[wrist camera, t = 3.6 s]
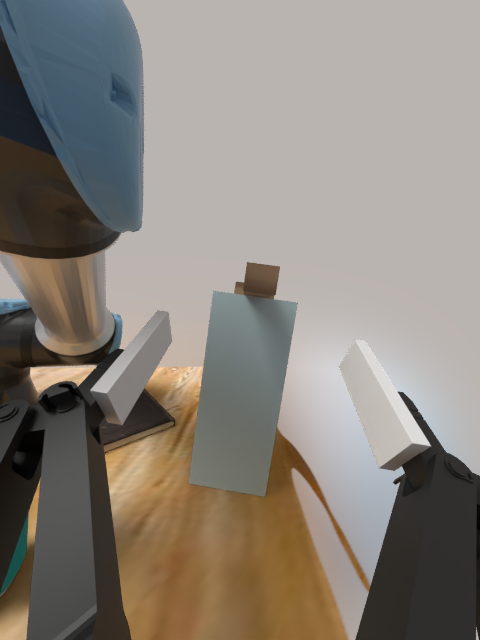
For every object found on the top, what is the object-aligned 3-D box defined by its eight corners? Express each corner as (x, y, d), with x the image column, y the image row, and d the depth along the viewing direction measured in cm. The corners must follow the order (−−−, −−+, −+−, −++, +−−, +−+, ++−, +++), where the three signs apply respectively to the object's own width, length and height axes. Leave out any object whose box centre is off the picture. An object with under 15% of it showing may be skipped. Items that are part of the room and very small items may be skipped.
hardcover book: (83, 464, 32) (84, 451, 32) (66, 401, 48) (66, 392, 48) (174, 428, 44) (175, 418, 44) (136, 387, 59) (137, 379, 59)
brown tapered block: (299, 298, 17) (304, 270, 17) (219, 287, 17) (222, 258, 17) (268, 301, 44) (269, 290, 44) (236, 296, 44) (238, 286, 44)
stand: (265, 496, 30) (297, 302, 28) (188, 483, 31) (213, 290, 28) (259, 430, 46) (279, 302, 44) (208, 422, 47) (226, 295, 44)
